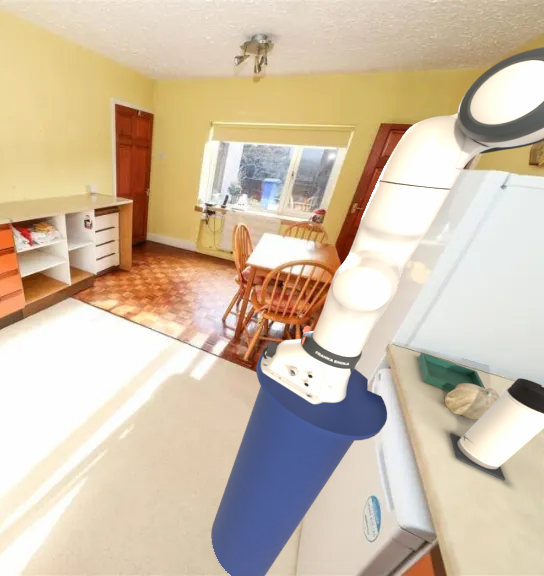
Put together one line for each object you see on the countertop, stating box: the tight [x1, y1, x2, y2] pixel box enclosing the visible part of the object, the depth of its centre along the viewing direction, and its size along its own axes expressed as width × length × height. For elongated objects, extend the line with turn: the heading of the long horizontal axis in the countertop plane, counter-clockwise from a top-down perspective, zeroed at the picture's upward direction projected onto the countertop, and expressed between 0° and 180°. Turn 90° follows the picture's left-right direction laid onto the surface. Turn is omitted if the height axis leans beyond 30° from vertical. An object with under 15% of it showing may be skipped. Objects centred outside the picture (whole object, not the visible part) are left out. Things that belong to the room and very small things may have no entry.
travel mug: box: [457, 377, 544, 469], centre depth 53 cm, size 6×7×20 cm
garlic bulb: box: [444, 383, 500, 420], centre depth 66 cm, size 9×8×10 cm
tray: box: [417, 352, 486, 392], centre depth 78 cm, size 13×13×2 cm
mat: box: [449, 432, 506, 481], centre depth 58 cm, size 7×7×1 cm
